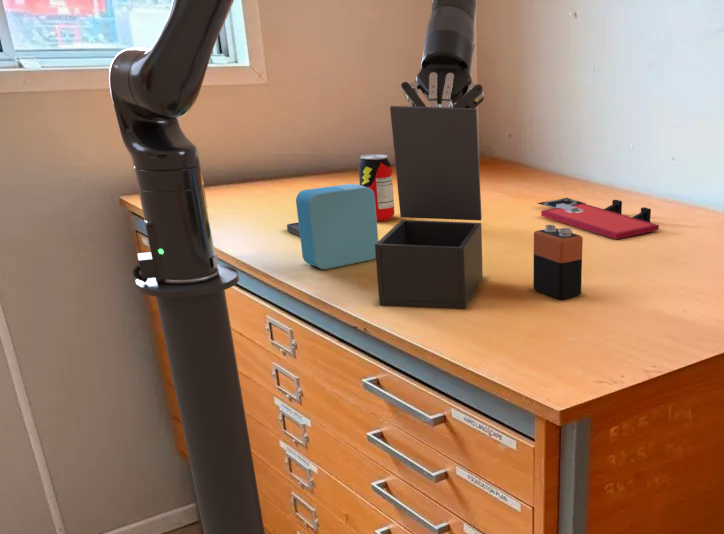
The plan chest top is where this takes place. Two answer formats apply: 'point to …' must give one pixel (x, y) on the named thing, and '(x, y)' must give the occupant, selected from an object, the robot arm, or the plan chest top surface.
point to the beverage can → (378, 183)
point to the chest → (429, 264)
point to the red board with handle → (600, 218)
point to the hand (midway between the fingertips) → (436, 140)
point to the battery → (557, 262)
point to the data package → (337, 225)
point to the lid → (437, 162)
